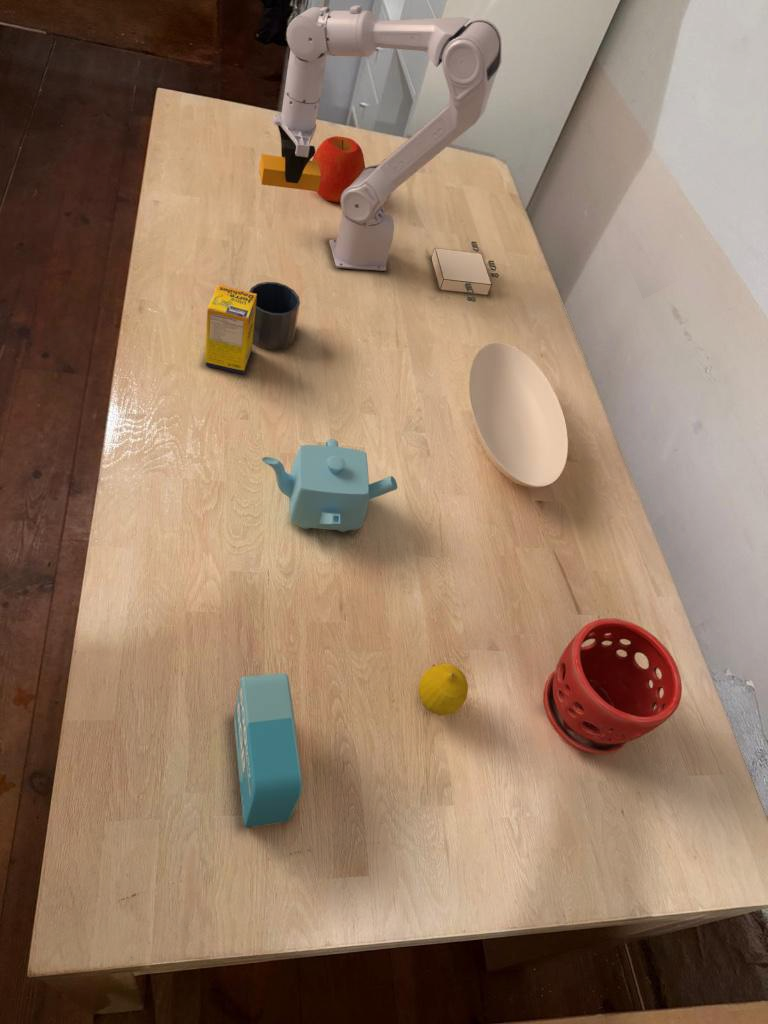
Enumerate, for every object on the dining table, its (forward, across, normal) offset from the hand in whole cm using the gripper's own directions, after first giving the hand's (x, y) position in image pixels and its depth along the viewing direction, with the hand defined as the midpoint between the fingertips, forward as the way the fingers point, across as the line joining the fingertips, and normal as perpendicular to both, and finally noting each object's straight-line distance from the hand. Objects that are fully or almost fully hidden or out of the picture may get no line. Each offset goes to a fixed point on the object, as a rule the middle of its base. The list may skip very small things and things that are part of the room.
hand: (289, 173), depth 130 cm
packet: (+1, 0, 0) cm, 1 cm away
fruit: (+9, +94, +7) cm, 95 cm away
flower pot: (+8, +97, +26) cm, 101 cm away
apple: (+10, -13, +12) cm, 21 cm away
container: (+10, +12, +33) cm, 37 cm away
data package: (+9, +99, -14) cm, 101 cm away
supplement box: (+10, +36, -12) cm, 40 cm away
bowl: (+9, +52, +29) cm, 60 cm away
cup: (+10, +30, -5) cm, 32 cm away
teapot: (+10, +66, -2) cm, 67 cm away
